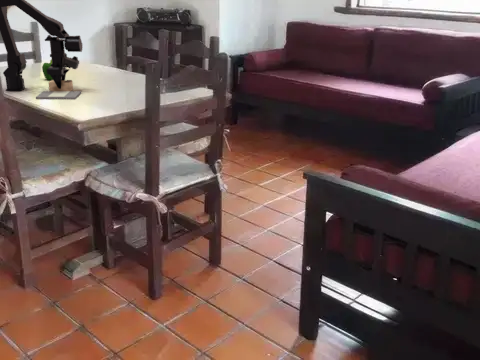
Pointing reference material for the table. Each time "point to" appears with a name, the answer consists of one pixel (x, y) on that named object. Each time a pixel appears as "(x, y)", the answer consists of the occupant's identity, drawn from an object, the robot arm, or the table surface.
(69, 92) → the mat
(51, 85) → the copper block with band
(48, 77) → the bell pepper
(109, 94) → the table surface
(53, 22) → the robot arm
